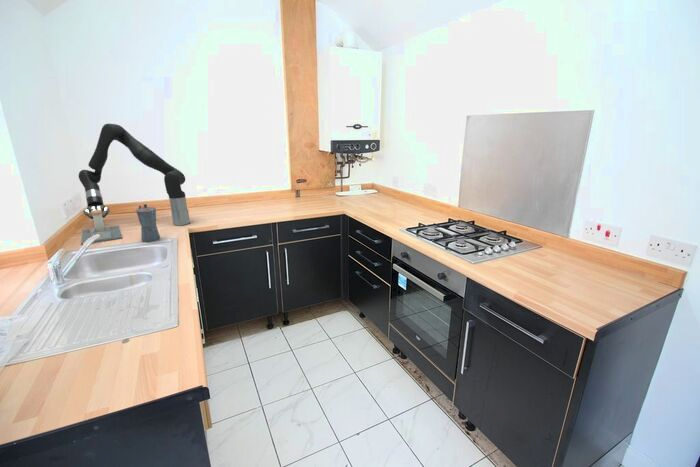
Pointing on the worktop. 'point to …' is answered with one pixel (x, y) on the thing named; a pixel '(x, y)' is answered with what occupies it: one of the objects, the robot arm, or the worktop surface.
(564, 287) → the worktop surface
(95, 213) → the grey upright post
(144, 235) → the moka pot
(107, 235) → the mount
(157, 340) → the worktop surface
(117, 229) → the board
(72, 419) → the worktop surface
